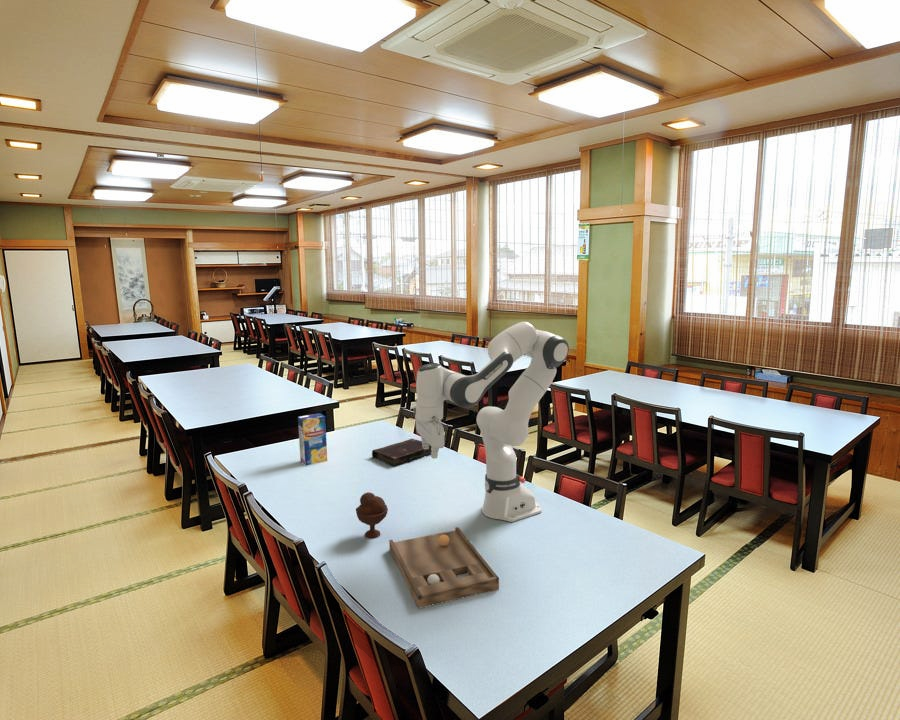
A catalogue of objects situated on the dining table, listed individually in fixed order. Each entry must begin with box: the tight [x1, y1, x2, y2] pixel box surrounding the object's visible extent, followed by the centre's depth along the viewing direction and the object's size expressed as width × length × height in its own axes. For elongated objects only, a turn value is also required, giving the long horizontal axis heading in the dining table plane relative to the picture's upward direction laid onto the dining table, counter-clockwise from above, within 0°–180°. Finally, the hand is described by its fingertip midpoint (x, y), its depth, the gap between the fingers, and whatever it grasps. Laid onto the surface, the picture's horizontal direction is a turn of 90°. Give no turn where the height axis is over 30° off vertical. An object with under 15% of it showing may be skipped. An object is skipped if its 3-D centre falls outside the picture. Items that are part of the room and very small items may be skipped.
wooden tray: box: [388, 526, 500, 609], centre depth 161 cm, size 24×32×4 cm
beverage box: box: [297, 412, 328, 466], centre depth 250 cm, size 7×11×22 cm, turn 125°
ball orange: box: [438, 535, 450, 546], centre depth 169 cm, size 4×4×4 cm
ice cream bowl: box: [355, 492, 389, 540], centre depth 180 cm, size 11×11×15 cm
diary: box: [371, 438, 432, 468], centre depth 258 cm, size 19×25×5 cm
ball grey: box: [427, 574, 440, 585], centre depth 152 cm, size 4×4×4 cm
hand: (429, 453), depth 176 cm, fingers open, 8 cm apart
